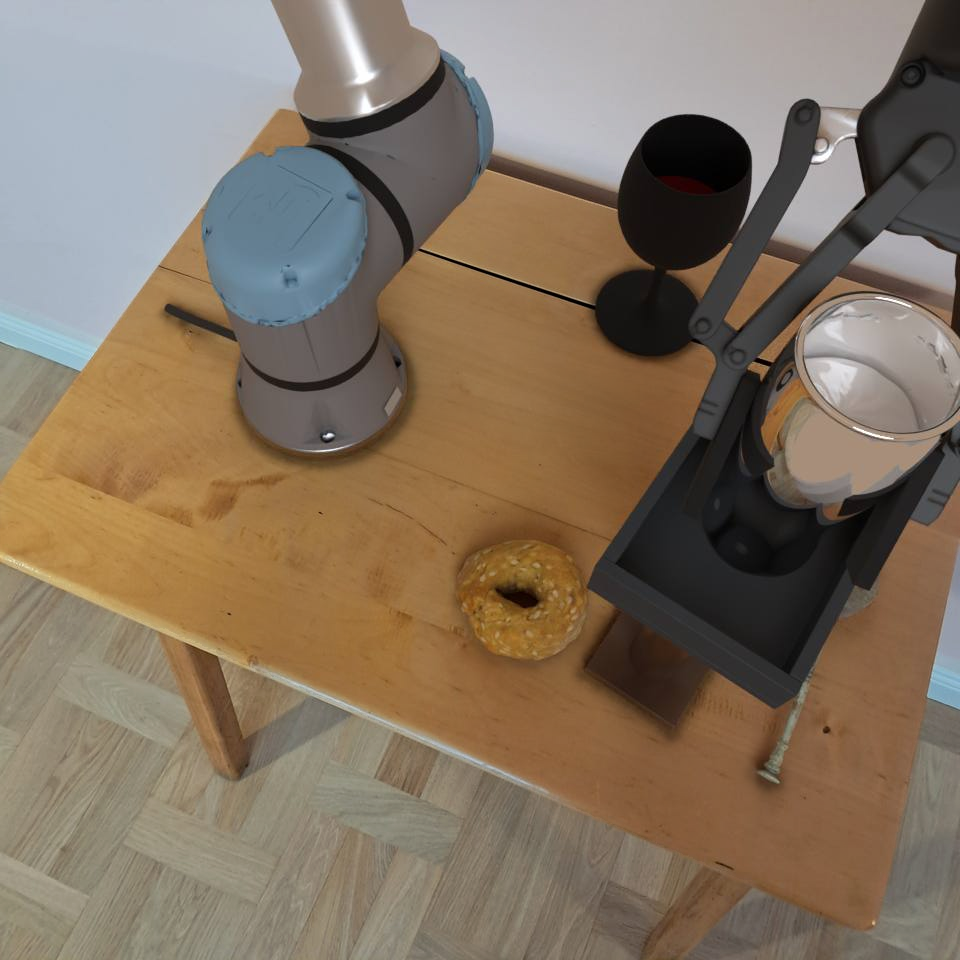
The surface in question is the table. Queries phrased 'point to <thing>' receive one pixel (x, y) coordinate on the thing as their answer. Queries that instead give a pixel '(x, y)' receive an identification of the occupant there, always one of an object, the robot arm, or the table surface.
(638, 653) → the stand
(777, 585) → the tray
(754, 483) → the silver metal cup
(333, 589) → the table surface
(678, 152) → the wine glass
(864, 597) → the soupspoon
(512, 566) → the bagel
